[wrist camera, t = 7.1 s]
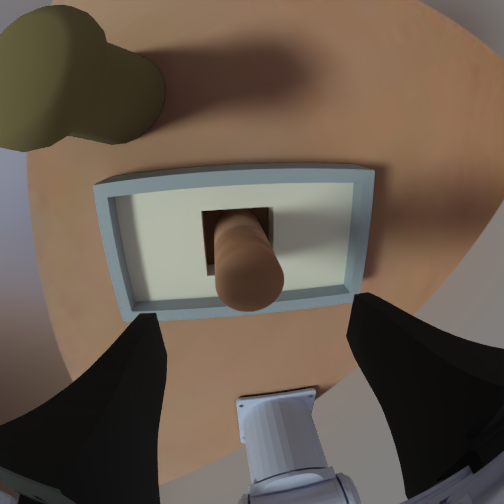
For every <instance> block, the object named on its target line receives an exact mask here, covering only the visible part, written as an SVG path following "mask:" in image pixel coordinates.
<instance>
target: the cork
mask: <svg viewBox="0 0 504 504" xmlns="http://www.w3.org/2000/svg"><path fill="white" fill-rule="evenodd" d="M164 101H165V84H164V80H163V77H162V74H161V72H160V71H159V69H158V68H157V67H156V66H155V64H154V63H153V62H151V61H150V60H148V59H146V58H144V57H143V56H140V55H138V54H136V53H133V52H131V51H128V50H126V49H123V48H121V47H118V46H116V45H113V44H110V43H108V42H107V41H106V37H105V33H104V31H103V29H102V28H101V27H100V26H99V25H98V23H97V22H96V21H95V20H94V18H93V17H91V16H90V15H89V14H88V13H87V12H84V11H82V10H79V9H77V8H74V7H72V6H67V5H53V6H45V7H42V8H39V9H36V10H34V11H32V12H29V13H27V14H25V15H23V16H21V17H19V18H18V19H17V20H15V21H14V22H13V23H12V24H10V25H9V26H8V27H7V28H6V29H5V30H4V31H3V32H2V33H1V34H0V147H1V148H6V149H11V150H16V151H21V152H27V151H31V150H35V149H40V148H44V147H49V146H52V145H53V144H55V143H56V142H58V141H60V140H61V139H63V138H65V137H66V136H73V137H78V138H83V139H88V140H93V141H97V142H102V143H106V144H111V145H114V144H122V143H127V142H129V141H131V140H134V139H136V138H138V137H140V136H141V135H142V134H143V133H145V132H146V131H147V130H148V129H149V128H151V126H152V125H153V123H154V122H155V121H156V119H157V118H158V116H159V115H160V112H161V109H162V106H163V104H164Z"/></svg>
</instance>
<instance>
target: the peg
mask: <svg viewBox="0 0 504 504" xmlns="http://www.w3.org/2000/svg"><path fill="white" fill-rule="evenodd" d="M214 258H215V288H216V292H217V294H218V296H219V298H220V299H221V301H222V302H223V303H224V304H225V305H227V306H228V307H230V308H232V309H234V310H237V311H242V312H253V311H258V310H261V309H264V308H266V307H268V306H269V305H271V304H272V303H273V302H274V301H275V300H276V299H277V298H278V297H279V295H280V293H281V292H282V289H283V286H284V273H283V270H282V268H281V266H280V264H279V262H278V260H277V258H276V256H275V253H274V251H273V249H272V247H271V245H270V243H269V241H268V239H267V237H266V235H265V233H264V231H263V229H262V227H261V225H260V223H259V221H258V219H257V217H256V216H255V215H254V214H253V213H252V212H251V211H249V210H247V209H244V208H240V209H228V210H226V211H224V212H223V213H222V214H221V215H220V216H219V217H218V218H217V220H216V222H215V225H214Z"/></svg>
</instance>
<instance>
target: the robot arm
mask: <svg viewBox="0 0 504 504" xmlns="http://www.w3.org/2000/svg"><path fill="white" fill-rule="evenodd" d="M346 337H347V340H348V342H349V345H350V348H351V350H352V353H353V355H354V358H355V360H356V361H357V363H358V365H359V367H360V368H361V370H362V372H363V374H364V376H365V377H366V379H367V381H368V383H369V385H370V386H371V388H372V390H373V392H374V394H375V395H376V397H377V399H378V401H379V403H380V405H381V407H382V409H383V412H384V414H385V417H386V420H387V422H388V425H389V428H390V430H391V434H392V436H393V439H394V443H395V446H396V450H397V453H398V457H399V461H400V464H401V470H402V475H403V480H404V486H405V494H406V496H407V498H408V500H407V501H405V502H403V503H400V504H438V503H439V504H504V349H502V348H496V347H491V346H487V345H483V344H479V343H476V342H472V341H469V340H466V339H463V338H460V337H457V336H455V335H452V334H450V333H447V332H445V331H442V330H440V329H438V328H436V327H434V326H432V325H430V324H428V323H426V322H423V321H422V320H420V319H418V318H416V317H414V316H412V315H410V314H408V313H407V312H405V311H403V310H401V309H399V308H398V307H396V306H394V305H392V304H390V303H389V302H387V301H385V300H383V299H381V298H379V297H377V296H375V295H373V294H371V293H369V292H367V293H360V294H354V299H353V305H352V310H351V315H350V320H349V325H348V330H347V335H346ZM166 373H167V353H166V349H165V346H164V342H163V338H162V334H161V330H160V327H159V323H158V319H157V314H156V313H140V314H139V315H138V316H137V317H136V318H135V319H134V320H133V321H132V323H131V324H130V325H129V326H128V327H127V328H126V329H125V331H124V332H123V333H122V334H121V335H120V336H119V337H118V339H117V340H116V341H115V342H114V343H113V344H112V345H111V346H110V348H109V349H108V350H107V351H106V352H105V353H104V354H103V355H102V356H101V357H100V358H99V359H98V360H97V361H96V362H95V363H94V364H93V365H92V366H91V367H90V368H89V369H88V370H87V371H86V372H85V373H83V374H82V375H81V376H80V377H79V378H78V379H76V380H75V381H74V382H73V383H72V384H71V385H69V386H68V387H67V388H65V389H64V390H62V391H61V392H60V393H58V394H57V395H55V396H54V397H53V398H51V399H50V400H48V401H47V402H45V403H44V404H42V405H40V406H39V407H37V408H35V409H34V410H32V411H30V412H28V413H26V414H25V415H23V416H21V417H19V418H16V419H14V420H12V421H10V422H7V423H5V424H3V425H1V426H0V480H1V481H3V482H4V483H5V484H7V485H8V486H9V487H11V488H12V489H13V490H15V491H16V492H18V493H19V494H20V497H19V501H18V500H16V499H15V498H13V497H11V496H10V495H8V494H6V493H4V492H2V491H0V504H160V497H159V485H158V460H157V446H158V429H159V422H160V416H161V409H162V403H163V396H164V390H165V384H166ZM315 395H316V390H315V388H308V389H302V390H296V391H290V392H283V393H276V394H269V395H261V396H252V397H242V398H238V399H237V400H236V404H237V413H238V421H239V430H240V438H241V442H242V443H246V450H247V457H248V463H249V470H250V477H251V483H252V485H248V487H249V494H243V495H242V498H241V499H240V500H239V501H238V504H361V501H360V497H359V494H358V492H357V489H356V487H355V485H354V483H353V481H352V479H351V478H350V477H349V476H347V475H344V474H343V473H338V474H335V472H334V469H333V467H328V464H327V461H326V458H325V455H324V452H323V449H322V446H321V443H320V440H319V437H318V434H317V431H316V428H315V425H314V423H313V420H312V417H311V413H312V409H313V404H314V400H315Z"/></svg>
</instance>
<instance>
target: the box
mask: <svg viewBox="0 0 504 504" xmlns="http://www.w3.org/2000/svg"><path fill="white" fill-rule="evenodd" d="M374 177H375V170H372V169H369V168H366V167H363V166H359V165H356V164H342V163H256V164H232V165H215V166H201V167H189V168H178V169H168V170H158V171H150V172H141V173H134V174H126V175H119V176H112V177H108V178H106V179H104V180H102V181H100V182H98V183H96V184H94V185H93V191H94V197H95V204H96V210H97V216H98V221H99V227H100V232H101V237H102V242H103V246H104V251H105V255H106V260H107V264H108V268H109V272H110V276H111V280H112V284H113V287H114V291H115V295H116V298H117V302H118V305H119V308H120V312H121V315H122V318H123V321H124V322H132V321H133V320H134V319H135V318H136V317H137V316H138V315H139V314H140V313H156V314H157V319H158V321H167V320H186V319H203V318H217V317H230V316H242V315H253V314H263V313H273V312H282V311H291V310H299V309H308V308H316V307H323V306H330V305H338V304H345V303H351V302H353V299H354V294H360V291H361V285H362V279H363V273H364V267H365V260H366V254H367V246H368V239H369V231H370V222H371V213H372V202H373V191H374ZM257 207H269V243H270V245H271V247H272V249H273V251H274V253H275V256H276V258H277V260H278V262H279V264H280V266H281V268H282V270H283V273H284V286H283V289H282V292H281V293H280V295H279V297H278V298H277V299H276V300H275V301H274V302H273V303H272V304H271V305H269V306H268V307H266V308H264V309H261V310H258V311H253V312H242V311H237V310H234V309H232V308H230V307H228V306H227V305H225V304H224V303H223V302H222V301H221V299H220V298H219V296H218V294H217V292H216V288H215V264H211V265H207V255H206V244H205V233H204V221H203V211H210V210H224V209H240V208H257Z"/></svg>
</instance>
